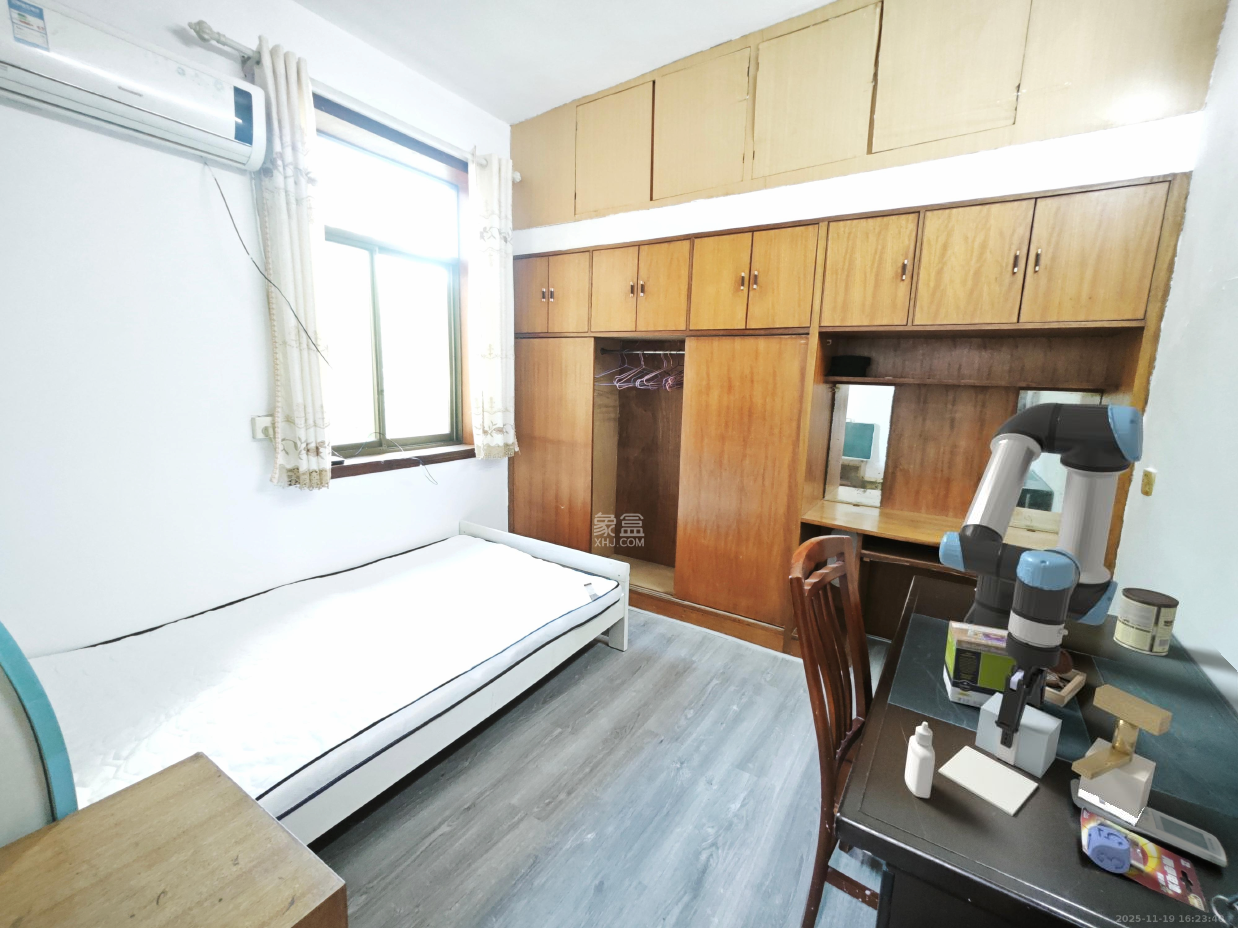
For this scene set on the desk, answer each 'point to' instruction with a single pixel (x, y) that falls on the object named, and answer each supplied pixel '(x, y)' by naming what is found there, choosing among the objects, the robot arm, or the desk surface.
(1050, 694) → the beige square frame
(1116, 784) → the white rectangular box
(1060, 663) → the compass
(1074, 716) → the desk surface
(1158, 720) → the gold angular piece
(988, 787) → the mat
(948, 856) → the desk surface
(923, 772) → the eye dropper bottle
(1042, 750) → the cover
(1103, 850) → the decorative dice
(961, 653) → the tea box
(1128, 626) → the coffee can
